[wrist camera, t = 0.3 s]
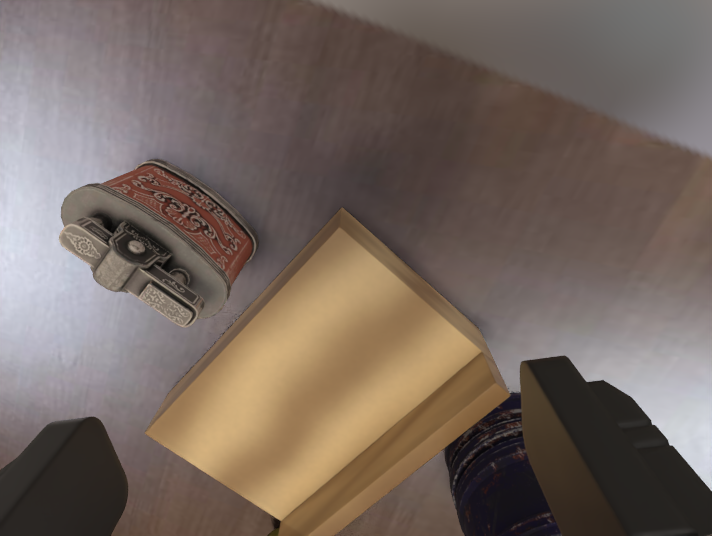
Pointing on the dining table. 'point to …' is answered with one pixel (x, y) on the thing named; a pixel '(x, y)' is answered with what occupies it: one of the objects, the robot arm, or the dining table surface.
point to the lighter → (160, 239)
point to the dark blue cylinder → (497, 478)
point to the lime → (274, 532)
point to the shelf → (331, 385)
